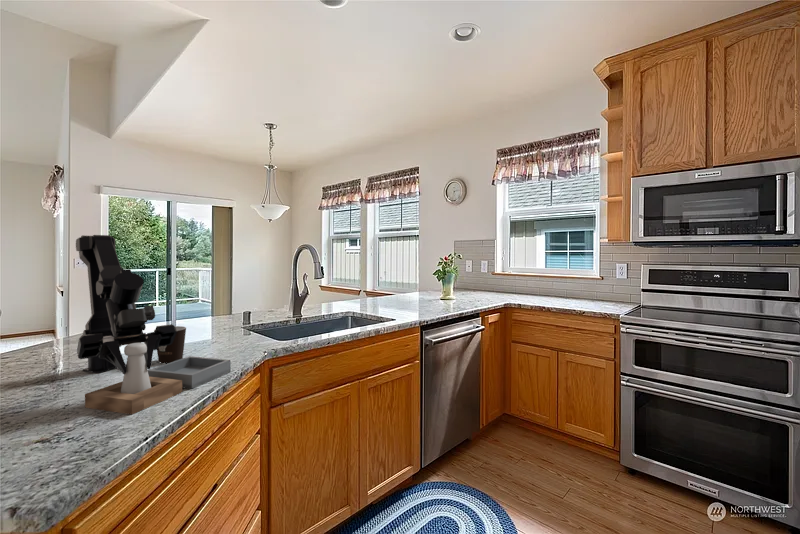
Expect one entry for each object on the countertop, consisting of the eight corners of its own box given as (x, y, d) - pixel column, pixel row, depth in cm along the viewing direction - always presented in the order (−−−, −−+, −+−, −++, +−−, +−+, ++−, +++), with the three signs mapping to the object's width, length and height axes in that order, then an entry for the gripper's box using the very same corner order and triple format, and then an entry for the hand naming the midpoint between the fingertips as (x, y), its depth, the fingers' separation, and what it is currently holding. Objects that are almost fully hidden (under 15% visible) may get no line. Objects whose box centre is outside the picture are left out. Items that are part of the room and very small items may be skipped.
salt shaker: (135, 405, 83) (134, 347, 83) (114, 403, 85) (113, 346, 84) (157, 396, 89) (156, 341, 89) (137, 394, 90) (136, 340, 90)
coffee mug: (192, 359, 120) (191, 328, 119) (163, 366, 112) (162, 333, 112) (173, 354, 126) (172, 324, 125) (144, 360, 118) (143, 328, 118)
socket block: (85, 407, 82) (84, 394, 82) (139, 387, 95) (139, 375, 95) (132, 414, 79) (131, 400, 79) (182, 392, 92) (182, 380, 91)
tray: (147, 383, 97) (146, 370, 97) (189, 367, 111) (189, 356, 111) (192, 389, 94) (191, 375, 94) (230, 372, 107) (230, 359, 107)
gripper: (78, 298, 82) (89, 359, 75) (173, 292, 96) (191, 342, 89) (72, 329, 87) (82, 388, 80) (163, 319, 101) (179, 368, 94)
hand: (137, 370), depth 86 cm, fingers open, 4 cm apart
